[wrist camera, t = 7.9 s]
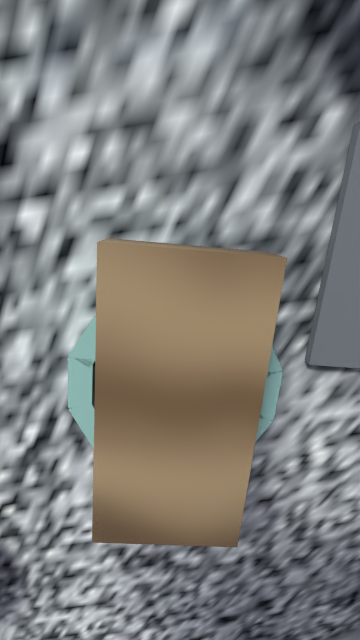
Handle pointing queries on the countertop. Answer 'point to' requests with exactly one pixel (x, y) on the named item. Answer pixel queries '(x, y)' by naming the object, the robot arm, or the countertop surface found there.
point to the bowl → (84, 385)
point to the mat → (341, 277)
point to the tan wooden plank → (178, 388)
